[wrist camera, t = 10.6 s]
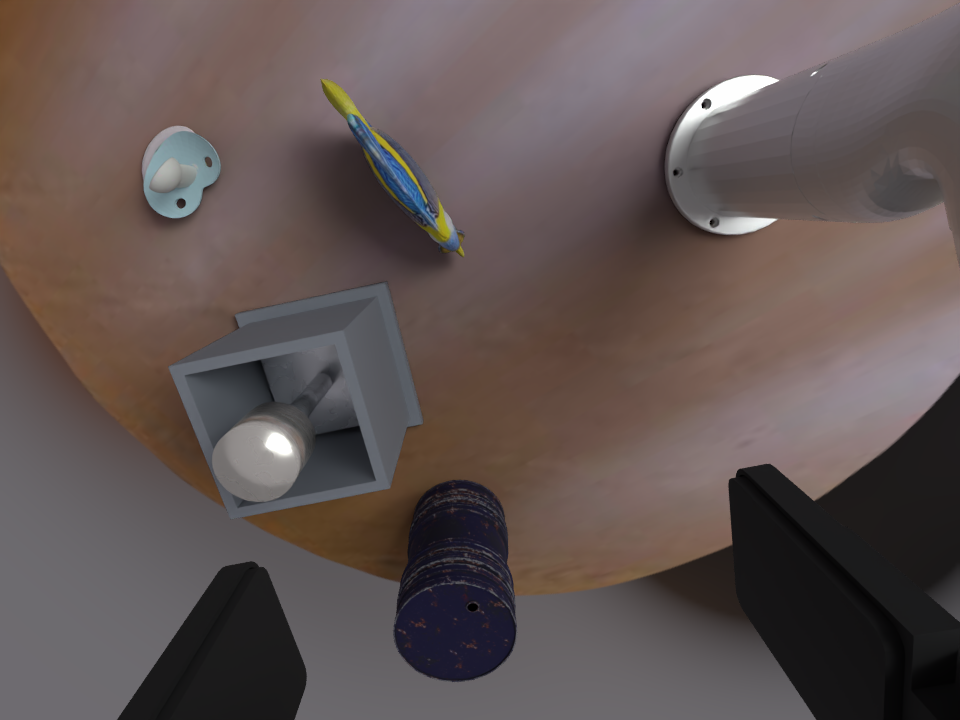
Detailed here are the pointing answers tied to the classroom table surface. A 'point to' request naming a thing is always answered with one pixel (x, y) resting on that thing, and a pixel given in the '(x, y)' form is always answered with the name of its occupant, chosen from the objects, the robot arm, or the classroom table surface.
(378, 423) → the press housing
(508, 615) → the dark blue cylinder
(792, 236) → the classroom table surface
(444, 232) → the tropical fish figurine
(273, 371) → the plunger
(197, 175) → the pacifier
